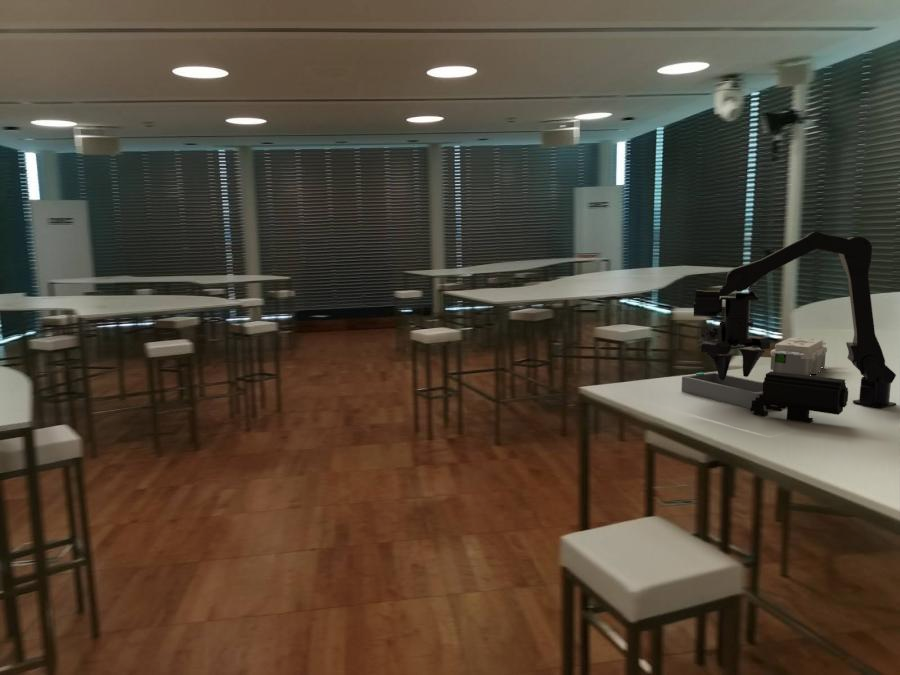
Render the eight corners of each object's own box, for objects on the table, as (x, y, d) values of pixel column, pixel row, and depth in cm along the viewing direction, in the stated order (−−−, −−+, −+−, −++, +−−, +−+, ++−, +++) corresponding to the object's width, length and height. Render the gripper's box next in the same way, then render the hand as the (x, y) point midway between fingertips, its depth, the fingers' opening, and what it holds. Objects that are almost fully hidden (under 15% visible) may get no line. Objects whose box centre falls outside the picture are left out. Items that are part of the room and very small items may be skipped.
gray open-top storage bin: (713, 386, 172) (714, 370, 172) (789, 404, 152) (790, 386, 151) (681, 391, 167) (682, 375, 167) (755, 410, 147) (756, 392, 146)
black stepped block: (756, 410, 147) (758, 368, 146) (847, 424, 134) (850, 378, 133) (746, 416, 142) (748, 373, 141) (840, 431, 129) (843, 384, 128)
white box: (761, 380, 180) (763, 346, 179) (788, 365, 201) (790, 335, 199) (807, 385, 172) (809, 350, 171) (830, 369, 193) (832, 338, 192)
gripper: (736, 312, 168) (733, 369, 170) (684, 317, 160) (682, 376, 162) (773, 316, 158) (769, 376, 160) (720, 321, 150) (717, 384, 152)
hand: (734, 378), depth 159 cm, fingers open, 8 cm apart
